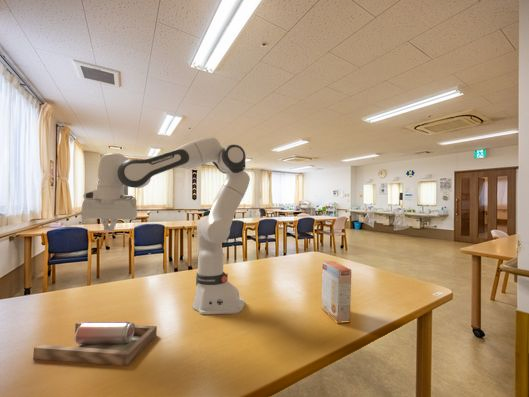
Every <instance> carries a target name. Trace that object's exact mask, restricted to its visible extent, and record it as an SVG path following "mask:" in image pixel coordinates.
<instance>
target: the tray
mask: <svg viewBox="0 0 529 397" xmlns="http://www.w3.org/2000/svg"><path fill="white" fill-rule="evenodd" d="M85 322H86V321H83V320H82V321H81V320H79V321H77V322H75V327H74V328H75V329H74V333H76V331H77V329H78V327H79V326H80V325H81V324H83V323H85ZM134 325H135V330H134V335H133V337H132V339H131V341H130V342H129V343H125V344H82V346H80V347H78V346H65V345H64V346H63V345H53V344H52V345H51V344H38V345H36V346H35V347H33V354H32V355H33V356H32V358H33V359H34V360H48V361H60V362H75V363H87V364H98V365H99V364H101V365H114V366H126V367H127V366H129V365H130V364H131V363H132V362H133V361H134V360H135V358H137V356H139V355H140V353H141V352H142V351H143V350H144V349H145V348H146V347H147V346H148V345H149V344H150V343H151V342H152V341H153V340H154V338H156V337H157V331H158V330H157V328H158V326H157V325H155V326H154V325H145V324H134Z"/></svg>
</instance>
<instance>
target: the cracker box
mask: <svg viewBox="0 0 529 397" xmlns="http://www.w3.org/2000/svg"><path fill="white" fill-rule="evenodd" d="M321 273H322V275H321V276H322V277H321V281H322V282H321V305H322V307H323V308H324V309H325V310H326V311H327V312H328V313H329V314H330V315H331V316H332V317H333V318H334V319H335V320H336V321H337V322H341V321H349V320H350V321H351V304H352V303H351V299H352V269H351V268H348V267H347V266H345V265H342V264H340V263H339V262H336V261H333V260H331V261H324V260H323V261H322V271H321Z"/></svg>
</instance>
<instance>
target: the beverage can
mask: <svg viewBox="0 0 529 397" xmlns="http://www.w3.org/2000/svg"><path fill="white" fill-rule="evenodd" d="M84 322H85V323H83V324H81V325H80V326H79V327H78V329H77V331H76V332H74V333H75V334H74V342H75V343H76V344H78V345H84V344H125V343H129V342H130V341H131V339H132V337H133V335H134V330H135V325H136V324H135V322H130V321H101V322H100V321H84Z"/></svg>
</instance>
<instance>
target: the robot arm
mask: <svg viewBox="0 0 529 397" xmlns="http://www.w3.org/2000/svg"><path fill="white" fill-rule="evenodd" d="M246 160H247V158H246V151H245V150H244V148H243V147H242V146H240V145H238V144H230V145H226V147H225V146H224V147H223V146H222V145H221V142H220V141H219V140H218V138H215V137H214V136H209V137H203V138H198V139H195V140H192V141H189V142H187V143H185V144H183V145H180V146H179V147H177V148H175V149H173V150H172V151H169V152H166V153H163V154H159V155H156V156H154V157H151V158H150V157H149V158H145V159H129V158H127V157H126V156H125V155H124V154H121V153H118V152H117V153H116V152H112V153H111V152H110V153H105V154H103V155H101V157H100V158H99V162H98V169H97V177H98V183H97V185H96V186H97V188H96V189H94V190H90V191H88V192H85V193H83V196H82V197H83V199H84V200H83V201H82V204H81V216H82V218H83V219H99V220H100V223H101V225H102V226H103V231H105V232H114V231H115V226H116V225H117V223H118V220H123V221H124V220H126V221H129V220H130V221H131V220H133V221H134V220H135V219H137V217H138V212H137V211H138V209H137V198H136V197H134V196H133V195H125V187H128V188H135V189H141V188H145V187H147V185H149V183H150V182H151V180H152V179H151V178H152V177H153V176H157V175H158V174H162V173H164V172H167V171H170V170H172V169H173V170H174V169H178V168H180V169H186V170H187V169H188V170H189V169H193V168H197V167H200V166H203V165H205V164H208V163H212V164H213V165H214V166H215V168H217V169H218V171H219V172H221V173H222V174H226V178H225V180H224V182H223V184H222V185H221V187H220V189H219V191H218V193H217V195H216V196H215V198H214V200H213V203H212V207H211V208H210V212H209V214H208V215H206V216H203V217H202V218H200V219H199V220H198V222H197V225H196V238H197V239H196V240H197V241H196V242H197V256H198V258H197V259H198V260H197V272H196V277H195V286H196V288H195V289H196V290H195V295H194V299H193V303H192V308H193V309H194V310H195V311H198V312H199V314H200V315H222V314H223V315H227V314H229V315H230V314H231V315H232V314H238V313H240V312H242V310H243V309H244V308H243V307H245V300H244V299H243V297H241V296H240V291H239V289H238V288H237V287H236V286H235V285H234V284H232V283H231V282H229V280H228V277H229V276H228V275H229V273H226V272H225V271H224V264H225V263H224V259H225V258H224V255H225V254H224V251H223V244H222V243H223V242H226V241H227V240H228V238H229V236H230V235H231V234H230V233H231V226H232V223H233V220H234V218H235V215H236V212H237V210H238V208H239V206H240V204H241V202H242V200H243V199H244V198H245V195H246V192H247V190H248V187H249V185H250V181H251V178H250V175H249V174H248V173H247V172H246V171H245V169H246ZM109 221H110V225H109Z"/></svg>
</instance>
